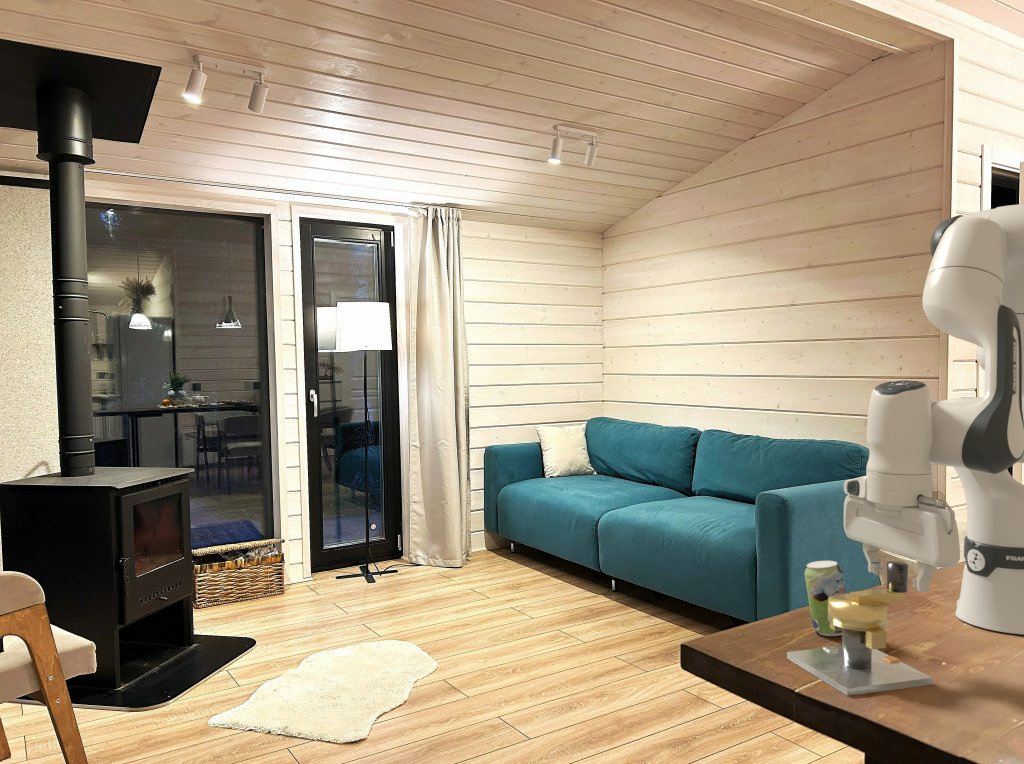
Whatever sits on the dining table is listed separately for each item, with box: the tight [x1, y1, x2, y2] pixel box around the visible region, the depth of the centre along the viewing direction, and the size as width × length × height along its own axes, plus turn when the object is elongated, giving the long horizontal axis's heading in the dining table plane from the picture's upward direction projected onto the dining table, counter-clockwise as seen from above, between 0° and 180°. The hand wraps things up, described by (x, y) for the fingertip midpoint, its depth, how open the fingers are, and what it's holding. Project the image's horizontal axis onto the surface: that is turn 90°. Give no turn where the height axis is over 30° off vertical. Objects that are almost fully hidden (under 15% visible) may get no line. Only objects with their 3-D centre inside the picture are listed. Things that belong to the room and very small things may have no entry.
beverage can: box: [804, 559, 847, 637], centre depth 133 cm, size 6×7×12 cm
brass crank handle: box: [828, 560, 909, 650], centre depth 118 cm, size 9×12×10 cm
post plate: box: [786, 628, 933, 697], centre depth 117 cm, size 14×14×7 cm
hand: (897, 582), depth 119 cm, fingers open, 8 cm apart
